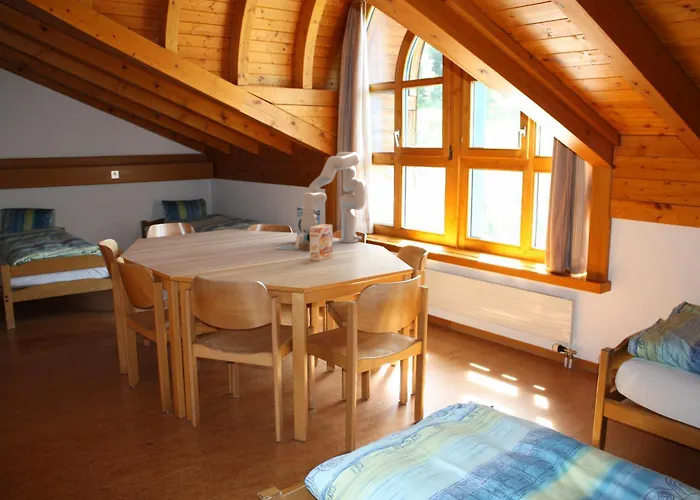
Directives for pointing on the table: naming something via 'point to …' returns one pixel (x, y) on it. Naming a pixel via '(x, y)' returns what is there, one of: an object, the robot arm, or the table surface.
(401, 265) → the table surface
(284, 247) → the slate mat
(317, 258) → the coffeecake box
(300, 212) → the gum box
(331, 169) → the robot arm
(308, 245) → the board
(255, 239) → the table surface
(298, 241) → the cream coaster
